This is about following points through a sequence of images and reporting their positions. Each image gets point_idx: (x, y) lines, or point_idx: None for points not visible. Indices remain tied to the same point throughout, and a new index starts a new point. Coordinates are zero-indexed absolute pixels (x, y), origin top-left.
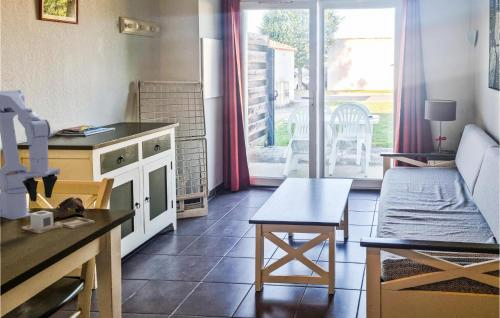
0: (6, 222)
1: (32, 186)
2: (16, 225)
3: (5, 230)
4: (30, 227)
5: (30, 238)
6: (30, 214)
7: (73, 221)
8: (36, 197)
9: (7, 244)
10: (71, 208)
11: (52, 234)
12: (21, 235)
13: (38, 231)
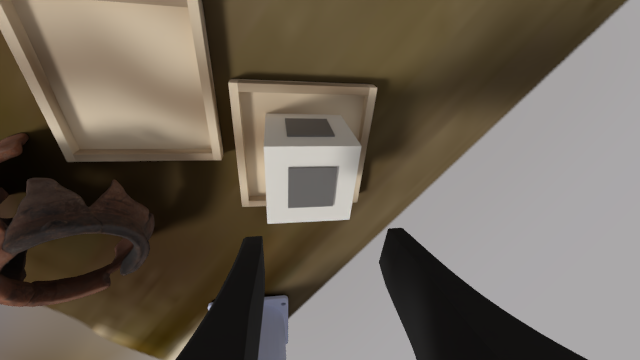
0: (315, 287)
1: (562, 346)
2: (322, 247)
3: (384, 225)
4: None
5: (439, 62)
6: (348, 215)
7: (117, 125)
8: (404, 246)
9: (539, 71)
10: (69, 192)
11: (342, 23)
12: (414, 134)
13: (375, 93)
